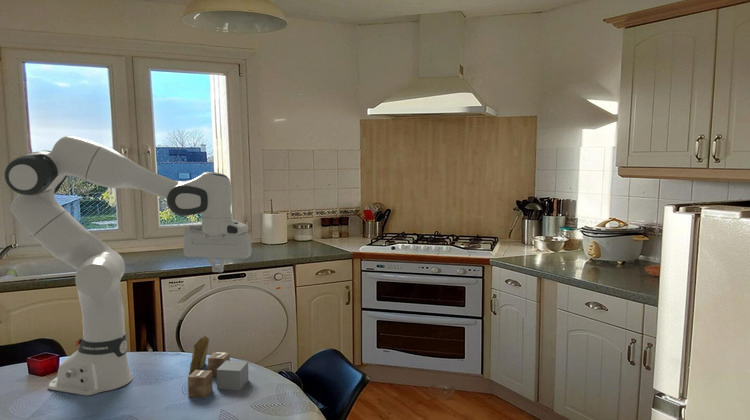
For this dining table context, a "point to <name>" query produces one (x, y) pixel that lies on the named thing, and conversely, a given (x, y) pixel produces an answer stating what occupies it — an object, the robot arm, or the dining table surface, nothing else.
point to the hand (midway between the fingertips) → (217, 271)
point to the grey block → (232, 375)
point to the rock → (199, 354)
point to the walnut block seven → (217, 361)
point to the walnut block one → (200, 383)
